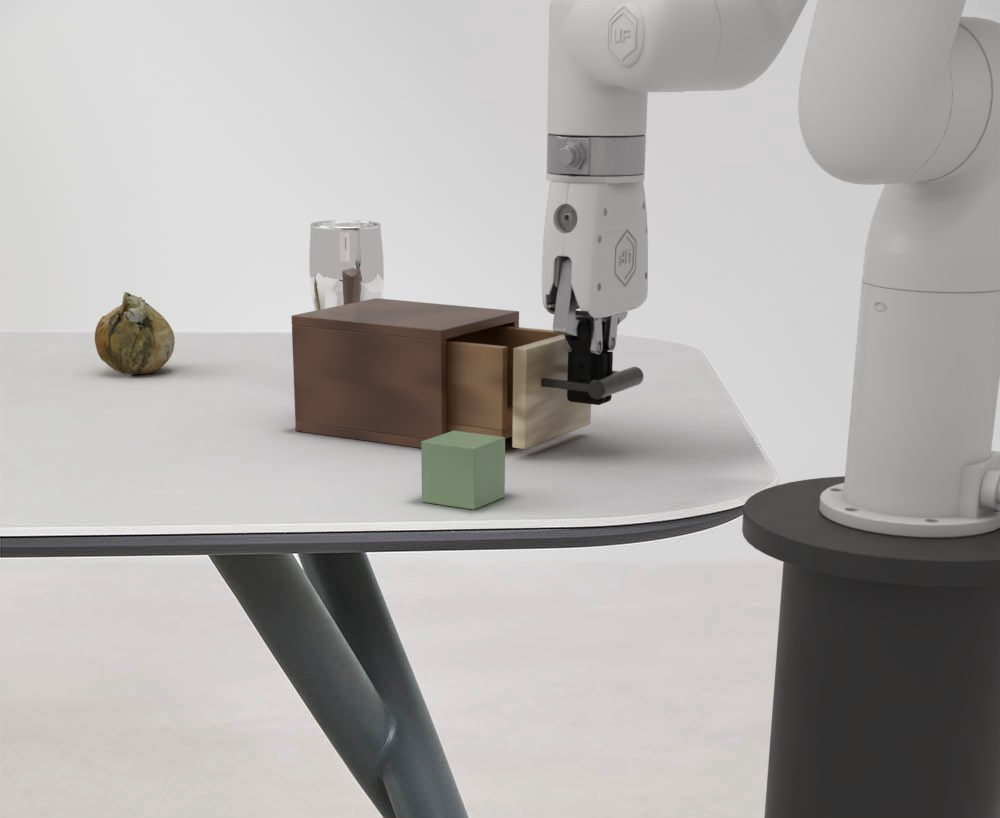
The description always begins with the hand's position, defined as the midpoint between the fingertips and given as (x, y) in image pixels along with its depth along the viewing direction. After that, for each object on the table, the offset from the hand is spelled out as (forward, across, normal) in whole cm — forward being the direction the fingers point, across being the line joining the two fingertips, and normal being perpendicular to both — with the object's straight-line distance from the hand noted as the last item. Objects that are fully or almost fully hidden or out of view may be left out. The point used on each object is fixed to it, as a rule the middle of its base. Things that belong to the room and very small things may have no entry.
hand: (589, 401), depth 137 cm
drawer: (+3, 0, +7) cm, 7 cm away
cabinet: (+4, 0, +17) cm, 18 cm away
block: (+4, -19, 0) cm, 19 cm away
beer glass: (+4, +13, +32) cm, 35 cm away
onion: (+4, +8, +54) cm, 55 cm away
